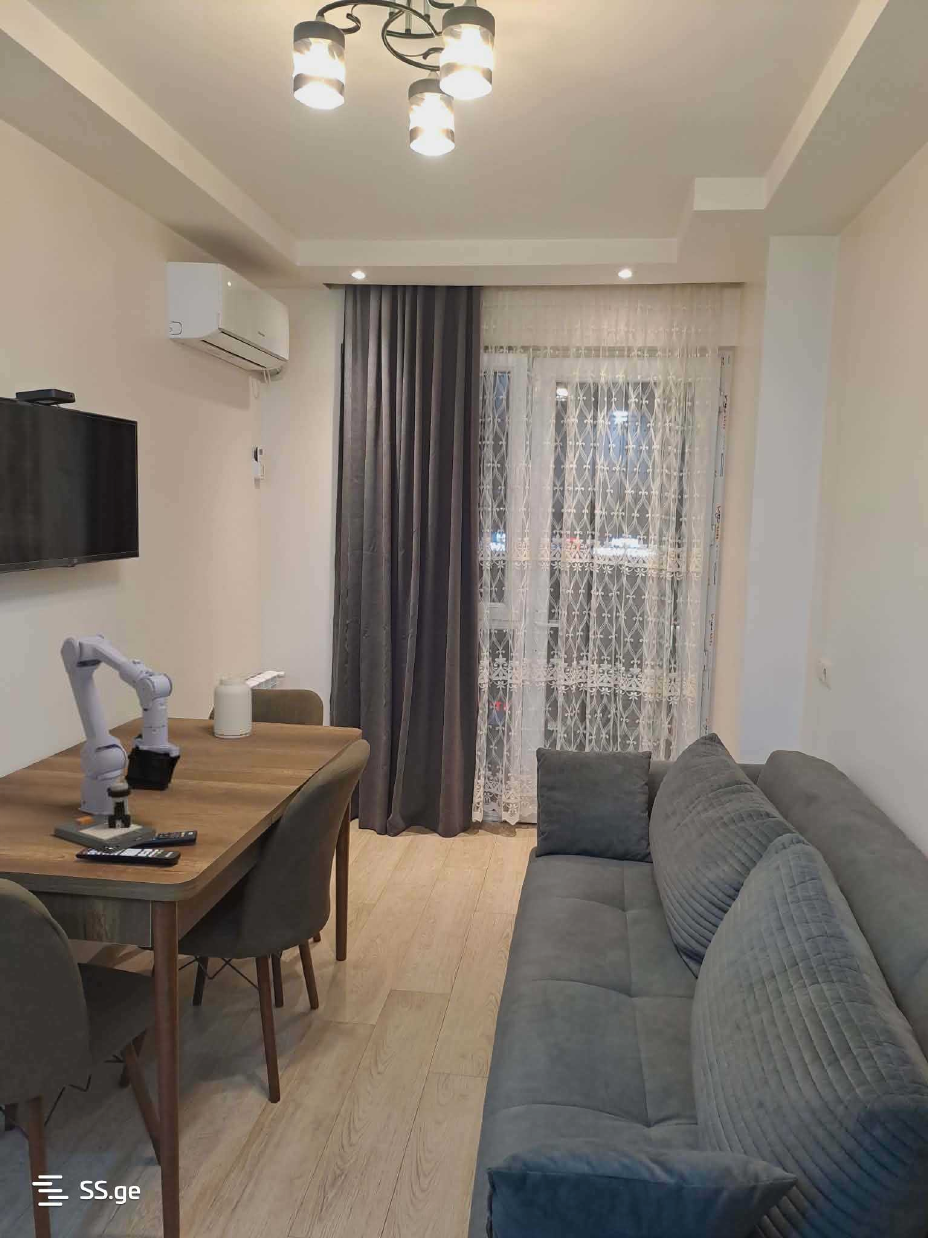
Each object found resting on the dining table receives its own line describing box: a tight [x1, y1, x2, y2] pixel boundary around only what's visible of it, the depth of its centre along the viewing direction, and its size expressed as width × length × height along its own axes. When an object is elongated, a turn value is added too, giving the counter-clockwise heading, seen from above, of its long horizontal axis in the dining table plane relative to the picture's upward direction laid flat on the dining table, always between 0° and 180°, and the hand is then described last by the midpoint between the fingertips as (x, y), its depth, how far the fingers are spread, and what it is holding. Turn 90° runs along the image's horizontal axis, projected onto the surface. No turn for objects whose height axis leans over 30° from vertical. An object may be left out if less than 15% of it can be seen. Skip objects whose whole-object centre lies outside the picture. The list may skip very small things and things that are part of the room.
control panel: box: [53, 813, 157, 854], centre depth 203 cm, size 20×12×3 cm, turn 59°
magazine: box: [124, 732, 169, 791], centre depth 240 cm, size 4×13×15 cm, turn 84°
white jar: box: [213, 675, 253, 740], centre depth 303 cm, size 12×12×20 cm
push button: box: [101, 781, 133, 828], centre depth 203 cm, size 7×5×10 cm
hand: (155, 781), depth 212 cm, fingers open, 7 cm apart
